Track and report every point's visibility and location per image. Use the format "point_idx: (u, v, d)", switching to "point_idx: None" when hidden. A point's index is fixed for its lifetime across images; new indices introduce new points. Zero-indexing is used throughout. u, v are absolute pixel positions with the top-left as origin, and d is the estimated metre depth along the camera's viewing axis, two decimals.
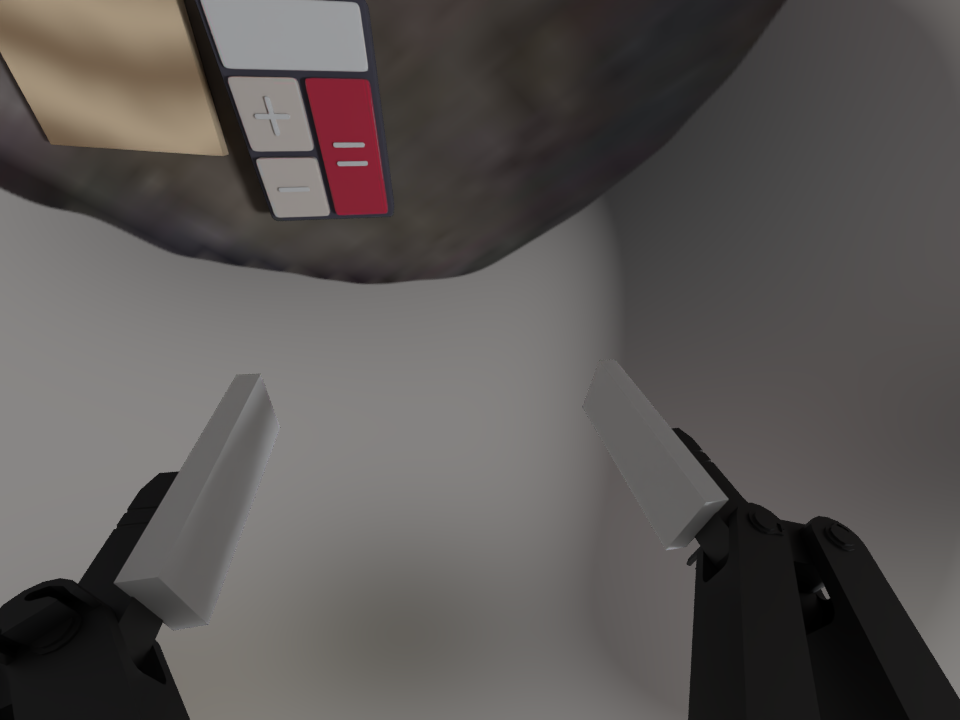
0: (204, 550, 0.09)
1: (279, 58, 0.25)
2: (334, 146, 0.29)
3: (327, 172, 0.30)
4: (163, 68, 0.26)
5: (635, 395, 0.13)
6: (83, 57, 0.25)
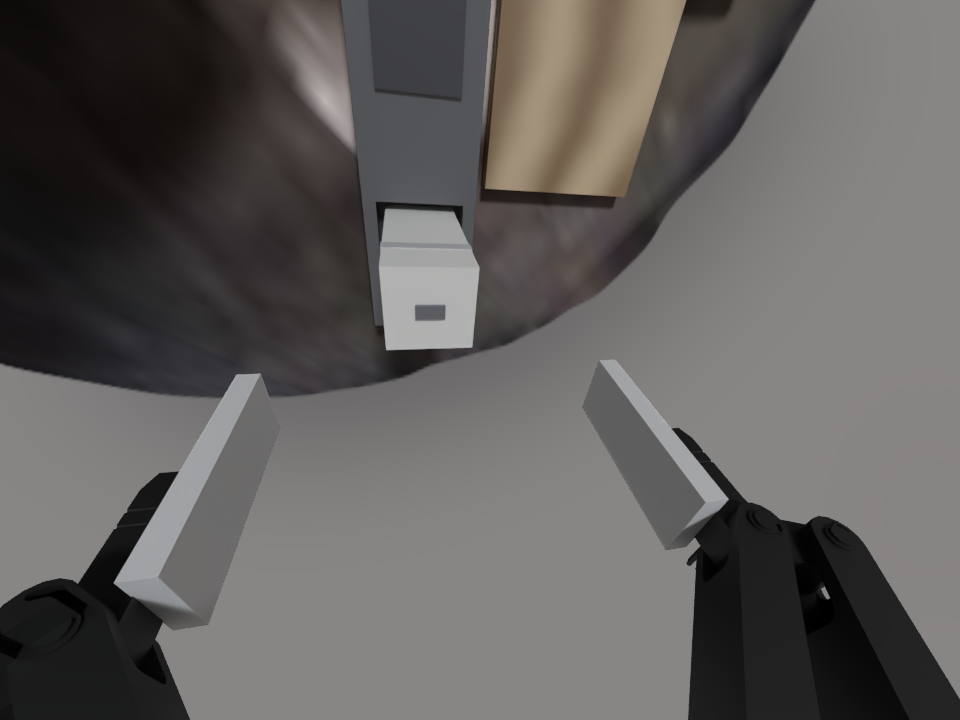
0: (204, 550, 0.09)
1: None
2: None
3: None
4: (598, 28, 0.22)
5: (635, 395, 0.13)
6: (577, 120, 0.25)
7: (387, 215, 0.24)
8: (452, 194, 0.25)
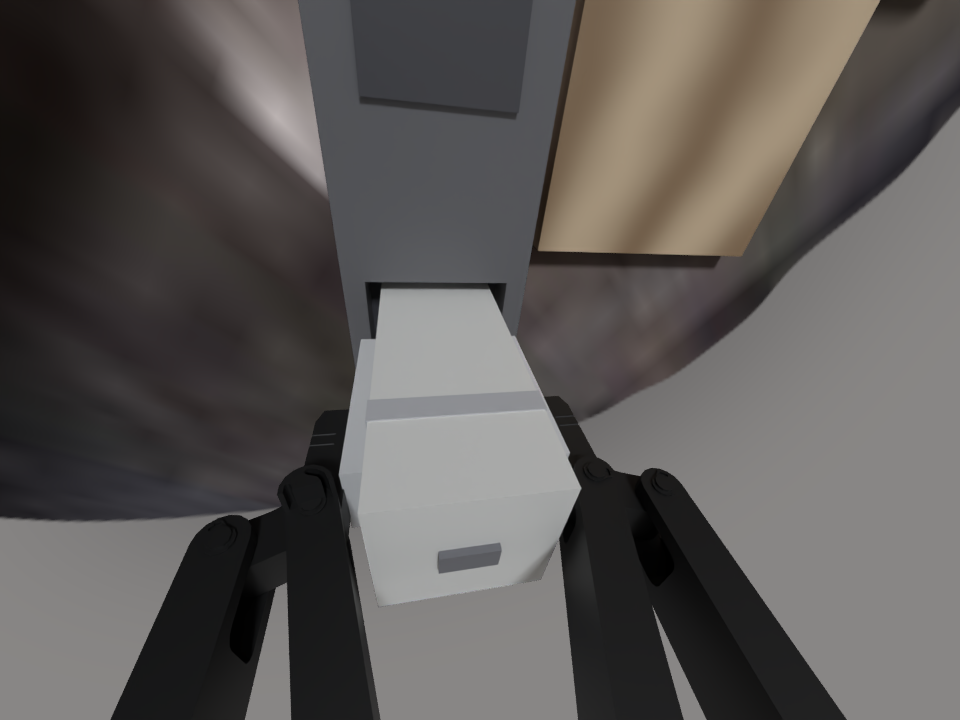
0: None
1: None
2: None
3: None
4: None
5: None
6: (693, 146, 0.15)
7: (384, 307, 0.14)
8: (491, 268, 0.15)
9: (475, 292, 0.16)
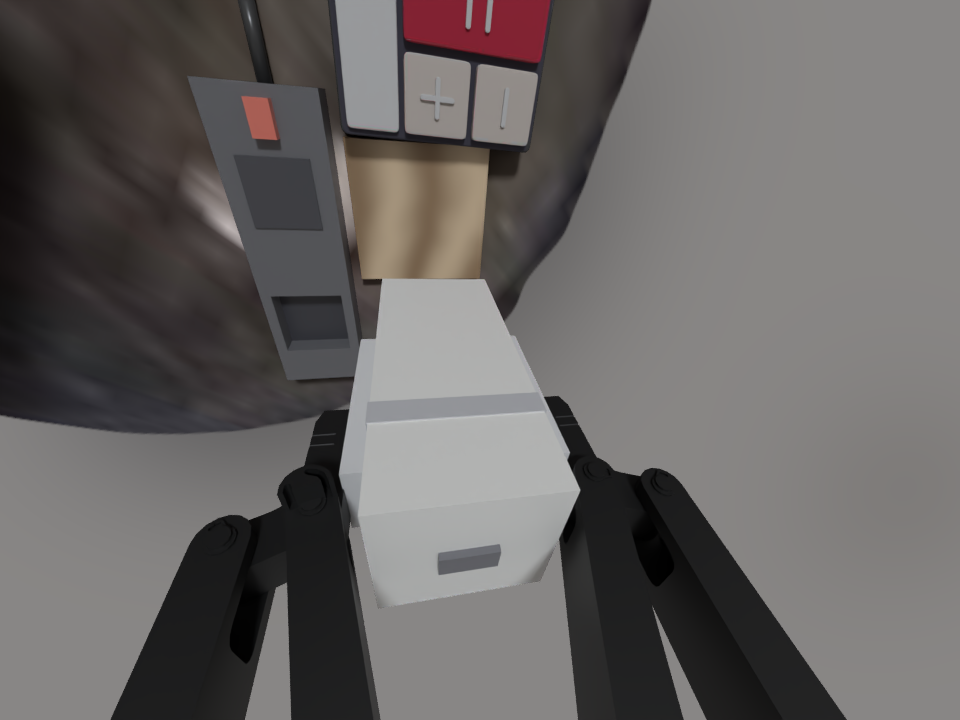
0: None
1: (388, 64, 0.24)
2: (470, 27, 0.23)
3: (494, 53, 0.25)
4: (425, 173, 0.30)
5: None
6: (425, 230, 0.33)
7: (384, 309, 0.14)
8: (330, 289, 0.33)
9: (475, 293, 0.16)
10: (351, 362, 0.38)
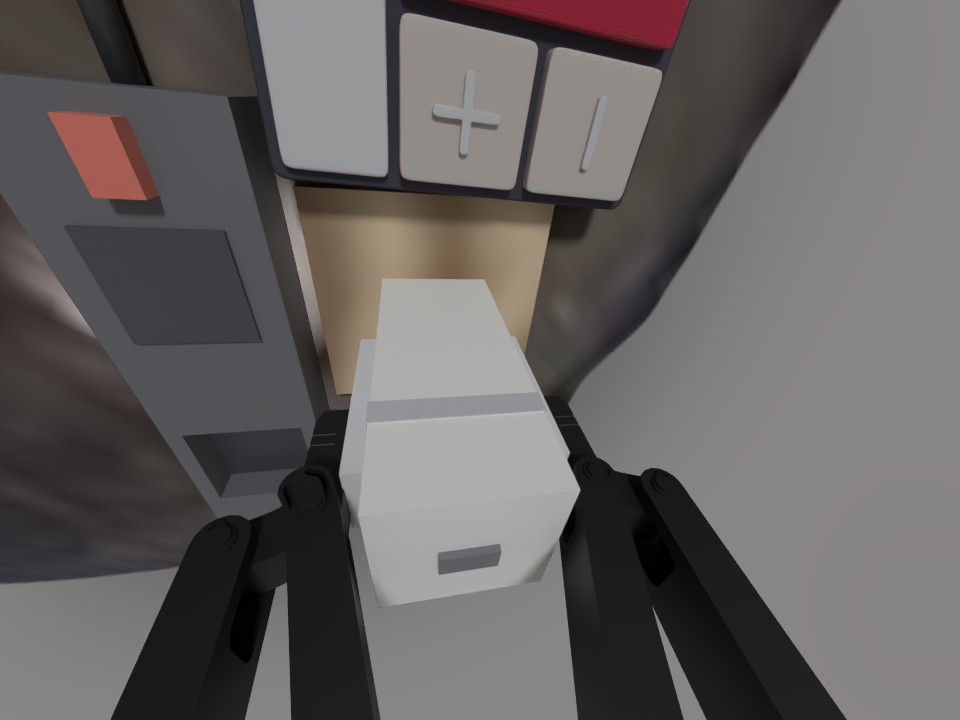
0: None
1: (365, 38, 0.11)
2: None
3: (588, 25, 0.12)
4: (443, 243, 0.18)
5: None
6: None
7: (384, 309, 0.14)
8: (283, 420, 0.20)
9: (475, 293, 0.16)
10: None
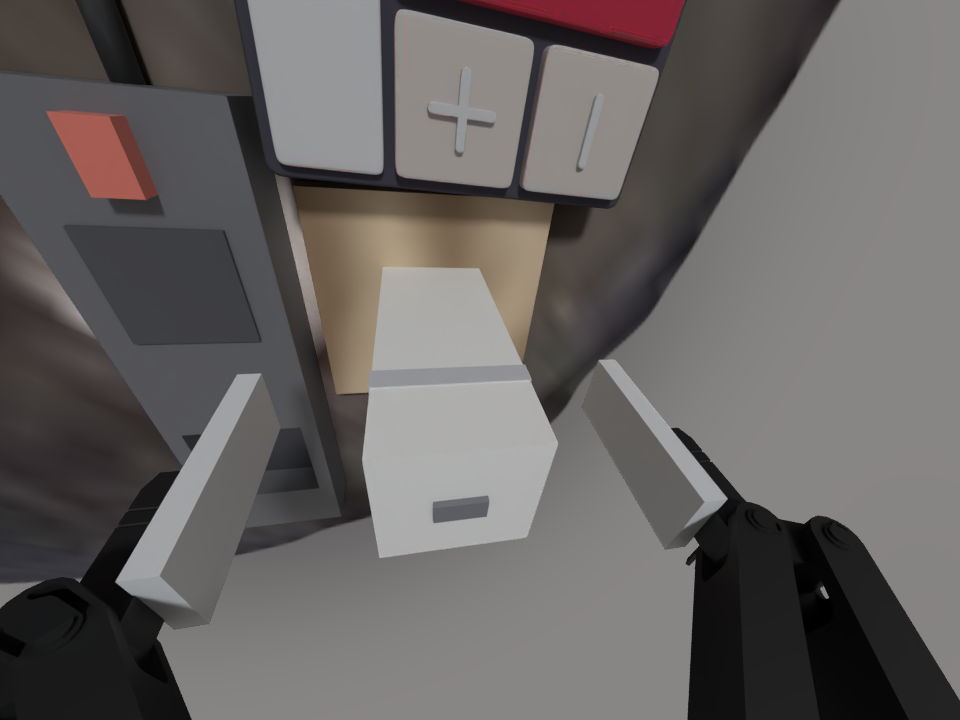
0: (205, 549, 0.09)
1: (359, 34, 0.11)
2: None
3: (584, 22, 0.12)
4: (442, 242, 0.18)
5: (634, 395, 0.13)
6: None
7: (384, 293, 0.15)
8: (282, 420, 0.20)
9: (470, 281, 0.17)
10: (321, 503, 0.25)
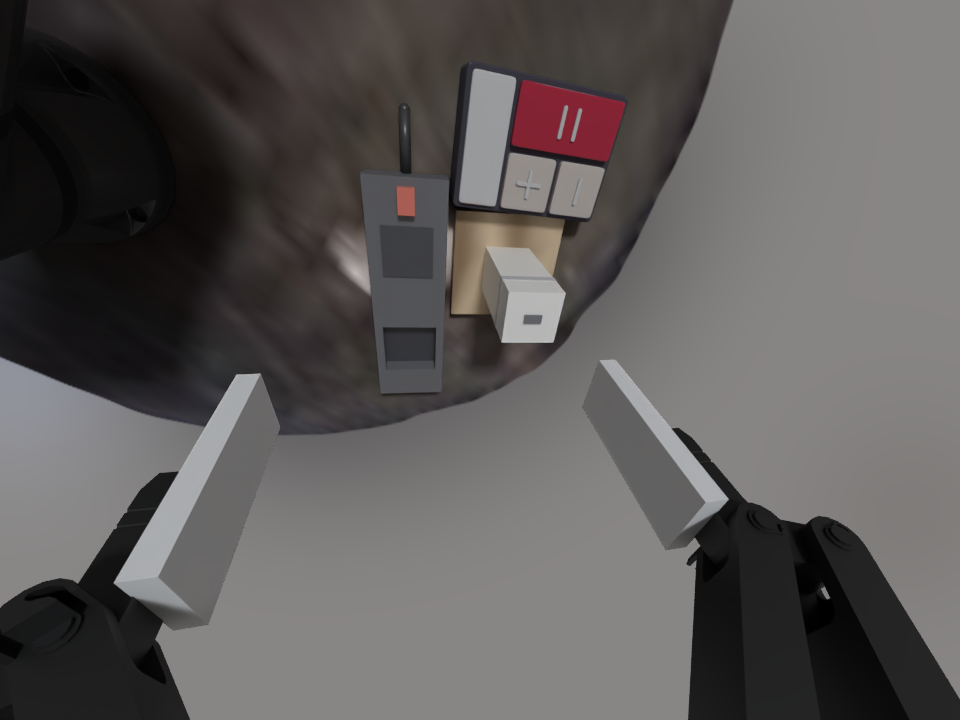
0: (204, 550, 0.09)
1: (496, 160, 0.32)
2: (560, 138, 0.31)
3: (574, 155, 0.33)
4: (513, 235, 0.38)
5: (635, 395, 0.13)
6: None
7: (492, 255, 0.36)
8: (429, 322, 0.41)
9: (526, 252, 0.38)
10: (433, 380, 0.46)
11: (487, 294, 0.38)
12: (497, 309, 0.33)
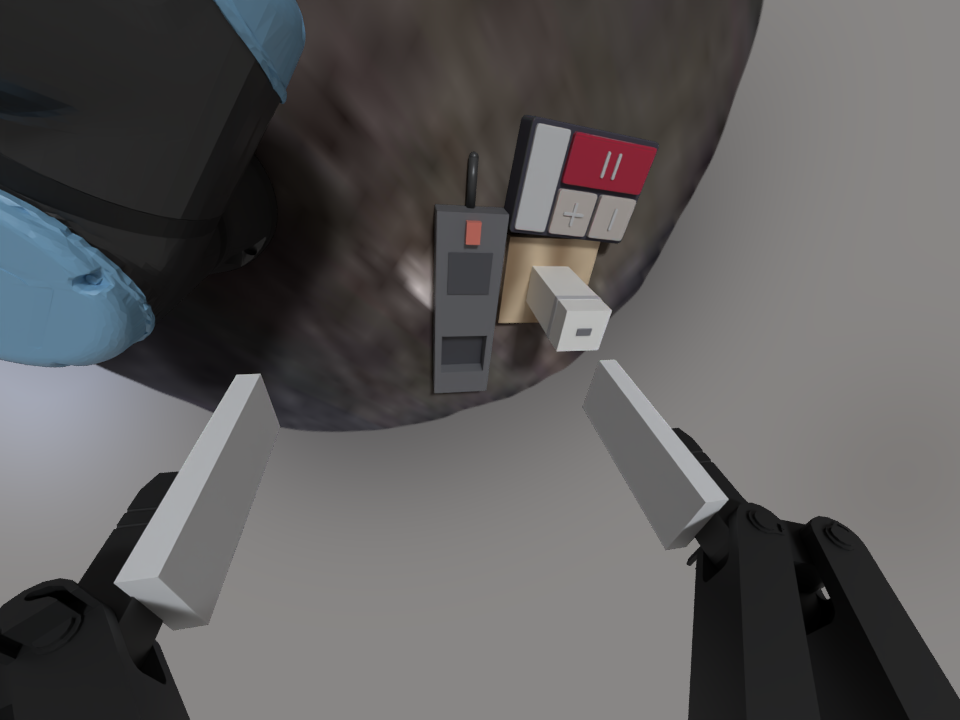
0: (204, 550, 0.09)
1: (549, 195, 0.38)
2: (602, 177, 0.37)
3: (613, 190, 0.39)
4: (556, 256, 0.45)
5: (635, 395, 0.13)
6: None
7: (541, 275, 0.42)
8: (481, 331, 0.47)
9: (567, 271, 0.44)
10: (480, 380, 0.53)
11: (535, 307, 0.44)
12: (550, 323, 0.39)
